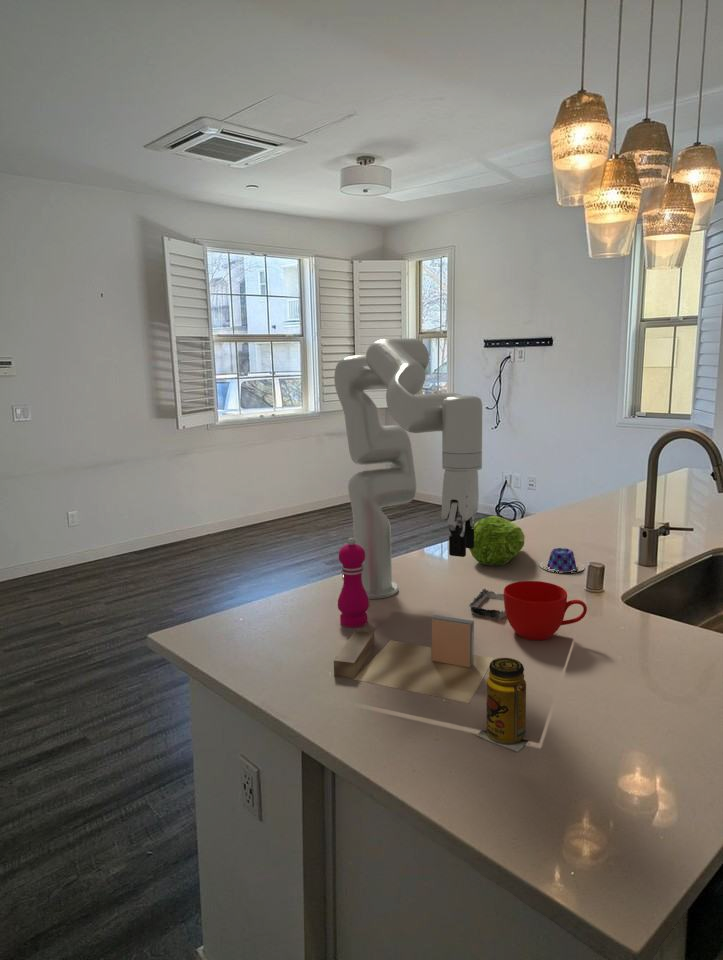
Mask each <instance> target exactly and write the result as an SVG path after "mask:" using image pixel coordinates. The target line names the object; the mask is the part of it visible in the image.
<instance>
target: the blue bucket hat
mask: <svg viewBox="0 0 723 960" xmlns="http://www.w3.org/2000/svg"><path fill="white" fill-rule="evenodd" d="M548 557H549V558H548V560H549V561H548V560H547V559H546V560H543V561H541V562H540V563H539V566H540V567H541V568H542V569H544V570H546V571H549V572H553V573H554V571H553V570H552V571H550V570H547V569H545V568H543V567H542V563H543V562H545V561H548V564H547V566H548V567H550V568H549V569H555V570H559V571H571V570H573V569H576V568H577V567H576V562H577V563H579V562H578V561H576V559H575V553H574V551H573V550H571V549H569V548H567V547H565V548H564V547H555V548H553V549H552V550H551V552H550V554H549V556H548ZM547 566H546V567H547ZM582 566H584V565H583V564H582ZM577 569H578V568H577ZM583 570H585V567H584V568H583V569H582V570H580V571H577V572H576V573H578V572H581V571H583ZM573 571H574V570H573ZM573 571H572V572H571V574H572V573H575V572H573ZM559 573H560V574H561V573H563V572H559ZM563 574H564V573H563Z"/></svg>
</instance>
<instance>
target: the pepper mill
mask: <svg viewBox="0 0 723 960" xmlns="http://www.w3.org/2000/svg"><path fill="white" fill-rule="evenodd" d="M338 560H339V562H340V564H341V566H340V568H341V569H340V571H341V573H343V575H344V581H343V585H342V587H341V588H342V589H341V591H340V593H339V595H338V598H337V609H338V611H339V612H340V615H339V618H340V620H339V621H340V624H341V625H342V626H343V627H347V628H360V627H364V626H365V625H366V624H368V622H369V621H368V619H369V618H368V613H367V611H368V609H369V608H370V599H368V596H367V593H366V591H365V589H364V587H363V584H362V578H361V576H362V572H363V571H364V570H363V565H362V563H363V562H364V560H365V551H364V549H363V548H362V547H361V546H359V545H357V544H355V539H354V537H349V538H348V539H347V544H345V545H343V546H341V548H340V550H339V552H338Z"/></svg>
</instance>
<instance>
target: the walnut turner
mask: <svg viewBox="0 0 723 960" xmlns="http://www.w3.org/2000/svg"><path fill="white" fill-rule="evenodd" d="M374 648H375V632H374V631H367V630H366V631H365V630H357V629H356V630H354V632H353V633H352V635H351V636H350V637H349V639H348V640H347V641H346V642H345V644H344V646H343V647H342V648H341V649H340V650H339V652H338V654H337V656H336V657H335V658H334V659H333V675H334V677H338V678H347V679H349V678H350V679H354V678H355V677H356V676H357V675H358V674H359V673H360V670H361V669H362V667H363V665H364V664H365V662H366V661H367V659H368V657H369V656H370V654H371V653H372V651H373V650H374Z"/></svg>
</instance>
